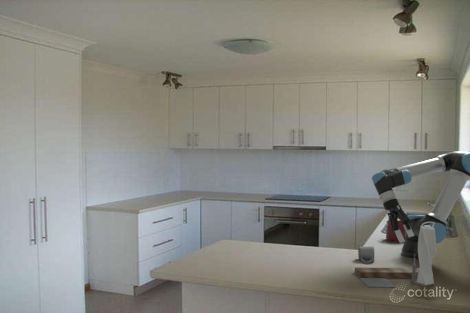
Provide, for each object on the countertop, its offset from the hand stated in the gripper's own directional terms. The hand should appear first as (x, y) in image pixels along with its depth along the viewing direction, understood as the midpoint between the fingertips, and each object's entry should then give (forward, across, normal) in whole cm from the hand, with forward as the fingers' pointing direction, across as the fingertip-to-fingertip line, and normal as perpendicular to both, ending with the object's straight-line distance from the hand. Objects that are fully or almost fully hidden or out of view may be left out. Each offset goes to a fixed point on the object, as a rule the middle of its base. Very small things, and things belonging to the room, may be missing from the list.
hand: (406, 239), depth 229 cm
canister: (-8, -68, +21) cm, 71 cm away
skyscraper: (+22, +15, -7) cm, 28 cm away
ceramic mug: (+3, -18, -18) cm, 26 cm away
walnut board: (+14, +5, -17) cm, 23 cm away
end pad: (+16, +17, -28) cm, 36 cm away
